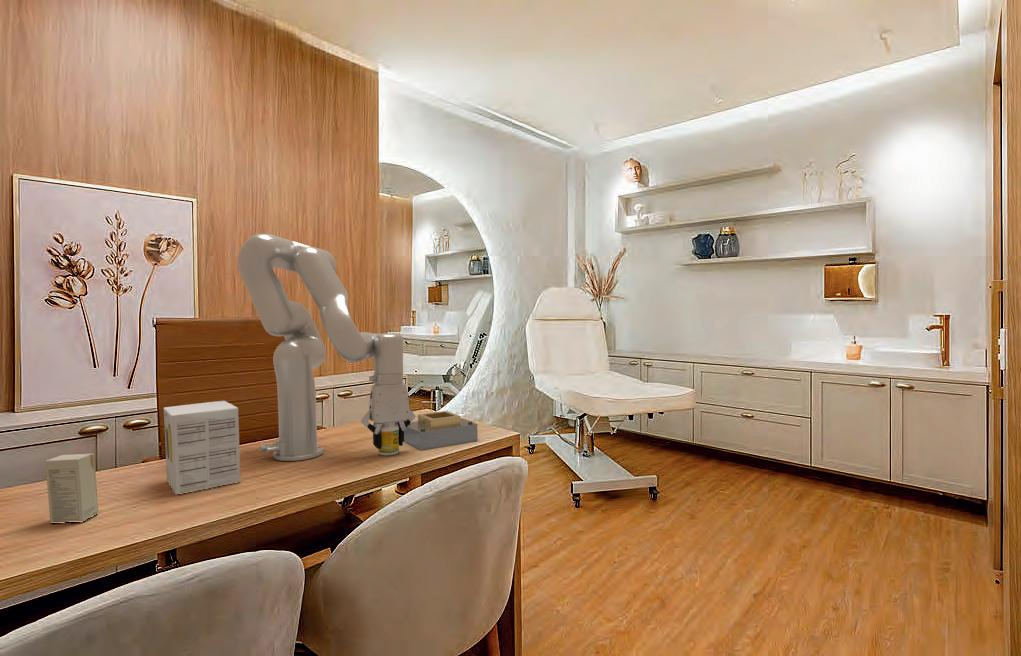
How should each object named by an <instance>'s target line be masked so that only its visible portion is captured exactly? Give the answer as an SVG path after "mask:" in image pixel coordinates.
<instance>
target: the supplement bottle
mask: <svg viewBox="0 0 1021 656" xmlns="http://www.w3.org/2000/svg"><path fill="white" fill-rule="evenodd" d="M395 423H396V422H393V423H384V424H381V428H380V431H379V433H380V434H381V448H380V449H378V454H379V455H381V456H394V455H397V454H398V453H399V451H400V448H399V447H400V445H399V427H398V425H396V424H395Z"/></svg>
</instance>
